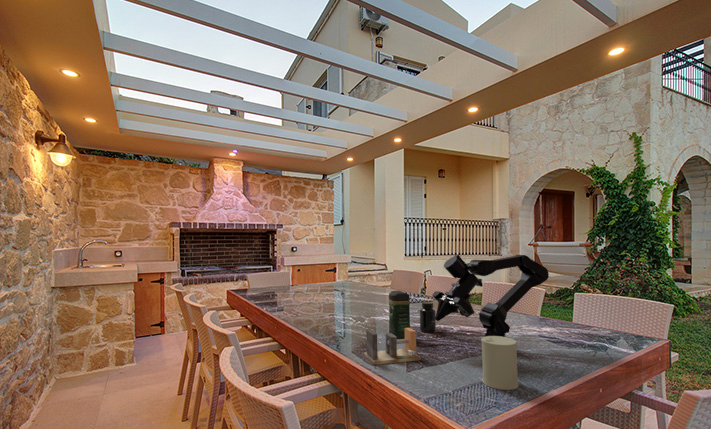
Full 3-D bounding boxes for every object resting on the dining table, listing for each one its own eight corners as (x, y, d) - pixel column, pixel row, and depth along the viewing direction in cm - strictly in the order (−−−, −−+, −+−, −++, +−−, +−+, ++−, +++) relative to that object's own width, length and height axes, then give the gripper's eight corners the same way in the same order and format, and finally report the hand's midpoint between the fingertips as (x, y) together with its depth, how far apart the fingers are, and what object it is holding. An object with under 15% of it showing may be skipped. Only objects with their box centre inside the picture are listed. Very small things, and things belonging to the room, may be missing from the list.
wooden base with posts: (408, 351, 126) (408, 325, 126) (420, 360, 116) (420, 332, 117) (364, 355, 121) (364, 328, 122) (373, 364, 112) (372, 335, 112)
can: (476, 377, 101) (475, 334, 102) (507, 376, 102) (505, 333, 103) (491, 390, 92) (490, 343, 93) (525, 389, 93) (523, 342, 93)
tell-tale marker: (410, 354, 117) (409, 349, 117) (412, 355, 115) (412, 351, 115) (407, 354, 117) (407, 350, 117) (410, 356, 115) (409, 351, 115)
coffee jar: (413, 339, 141) (412, 292, 143) (394, 340, 139) (393, 292, 141) (404, 333, 151) (403, 289, 152) (386, 334, 149) (386, 289, 150)
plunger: (410, 349, 123) (409, 327, 124) (419, 356, 116) (419, 332, 116) (385, 351, 121) (385, 329, 121) (393, 358, 114) (393, 334, 114)
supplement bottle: (436, 333, 150) (435, 304, 151) (419, 332, 152) (419, 304, 153) (435, 329, 157) (435, 301, 158) (420, 328, 158) (419, 301, 159)
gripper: (493, 306, 120) (466, 342, 116) (463, 298, 138) (438, 329, 134) (472, 284, 118) (443, 319, 114) (444, 278, 136) (419, 309, 132)
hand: (436, 320), depth 124 cm, fingers closed
